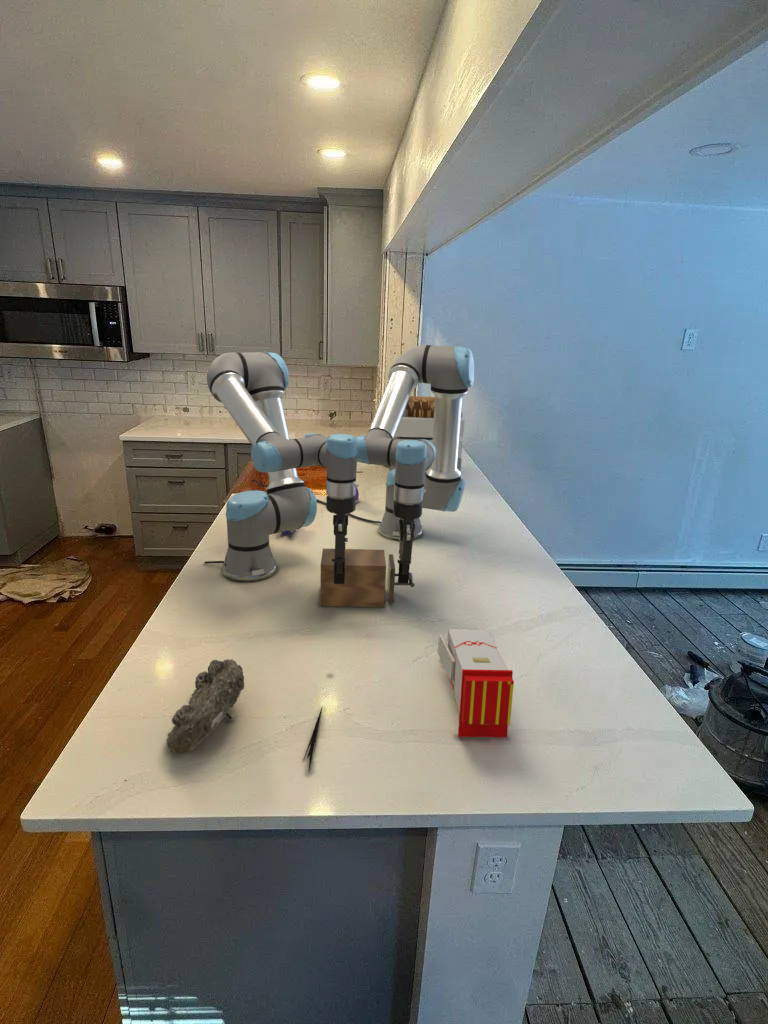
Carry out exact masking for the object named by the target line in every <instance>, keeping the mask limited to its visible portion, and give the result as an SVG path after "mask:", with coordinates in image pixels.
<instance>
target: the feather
mask: <svg viewBox="0 0 768 1024" xmlns="http://www.w3.org/2000/svg"><path fill="white" fill-rule="evenodd" d="M329 675H330V676H331V675H332V674H331V673H330V674H329ZM322 710H323V707H321V708H320V710H319V713H318V716H317V719H316V723H315V725H314V728H313V731H312V733H311V737H310V739H309V742H308V745H307V748H306V751H305V754H304V757H303V760H302V763H301V767H302V765H303V763H304V761H305V758H308V759H309V760H308V762H307V763H308V764H307V766H308V771H310V770H311V766H312V765H311V764H312V760H313V757H315V756H314V755H315V751H316V749H315V746H317V739H318V733H319V729H320V722H321V717H322V712H323V711H322ZM313 754H314V755H313ZM306 755H307V757H306Z"/></svg>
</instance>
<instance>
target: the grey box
mask: <svg viewBox="0 0 768 1024" xmlns="http://www.w3.org/2000/svg"><path fill="white" fill-rule="evenodd" d="M434 406H435V396H415V395H414V396H413V395H412V396H411V395H410V397H409V400H408V402H407V405H406V408H405V410H404V413H403V416H402V418H401V421H400V424H399V426H398V429H397V431H396V434H395V437H394V439H397V440H421V439H425V440H428V441H430V442H431V443H432V441H433V423H434ZM464 429H465V419H464V418H463V411H461V420H460V433H459V446H458V459H457V469H458V470H459V471H460V472H461V473H462V461H463V460H462V453H463V442H464V441H463V440H462V439H463V438H464V431H465V430H464ZM386 467H388V468H389V472H390V471H391V470H393V469H396V467H391V466H386Z"/></svg>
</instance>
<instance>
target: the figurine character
mask: <svg viewBox="0 0 768 1024" xmlns="http://www.w3.org/2000/svg"><path fill="white" fill-rule="evenodd" d="M295 531H296V529H294V530H290V531H285V532H280V537H284V534H288V537H289V538H290V537H292V534H294V533H295Z"/></svg>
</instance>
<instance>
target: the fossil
mask: <svg viewBox="0 0 768 1024" xmlns="http://www.w3.org/2000/svg"><path fill="white" fill-rule="evenodd" d="M243 670H244V669H243V667H242V665H240V664H237V662H236V661H235V660H234V659H232V658H231V659H227V658H226V659H224V660H223V661H222V660H217V659H212V660H211V661H210V663H209V665H208V666H207V671H201V672H199V673H198V674H197V675H196V676H195V680H194V684H195V685H194V687H195V689H194V690H193V693H192V694H191V697H190V698H189V700H188V704H184V705H182V706H181V707H180V709H177V710H176V711H175V713H174V715H173V716H172V718H171V723H172V724H173V727H172V730H171V731H170V732H168V734H167V738H166V741H167V742H166V745H167V749H168V750H169V751H173V752H174V753H176V754H178V753H182V752H188V751H189V752H192V751H193V750H195V748H196V747H197V746H199V744H200V743H201V742H203V741H204V740H205V739H206V738H207V737H208V736H209V735H210V734H211V733H212V732H214V730H215V729H217V727H218V726H219V724H220V722H221V721H222V720H223V719H224V718H225V716H226V717H227V719H229V720H233V717H232V715H230V714H229V710H230V709H231V708H234V706H235V704H236V703H237V702H238V699H239V697H240V695H241V693H242V691H243V690H245V689H244V688H245V675H244V671H243Z"/></svg>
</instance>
